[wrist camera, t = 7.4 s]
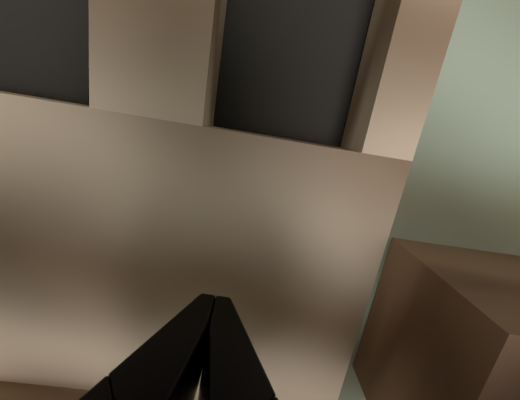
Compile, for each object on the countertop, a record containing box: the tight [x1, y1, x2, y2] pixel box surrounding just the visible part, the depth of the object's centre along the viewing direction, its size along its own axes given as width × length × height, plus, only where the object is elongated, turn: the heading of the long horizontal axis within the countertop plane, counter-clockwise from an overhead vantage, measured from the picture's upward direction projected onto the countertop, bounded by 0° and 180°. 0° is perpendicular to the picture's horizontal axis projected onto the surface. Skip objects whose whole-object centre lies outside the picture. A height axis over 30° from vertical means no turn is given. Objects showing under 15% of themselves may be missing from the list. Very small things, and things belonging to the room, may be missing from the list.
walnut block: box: [352, 238, 520, 400], centre depth 7 cm, size 5×5×4 cm
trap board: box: [0, 0, 520, 400], centre depth 8 cm, size 18×22×4 cm
